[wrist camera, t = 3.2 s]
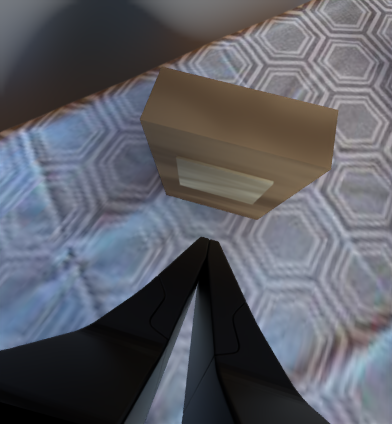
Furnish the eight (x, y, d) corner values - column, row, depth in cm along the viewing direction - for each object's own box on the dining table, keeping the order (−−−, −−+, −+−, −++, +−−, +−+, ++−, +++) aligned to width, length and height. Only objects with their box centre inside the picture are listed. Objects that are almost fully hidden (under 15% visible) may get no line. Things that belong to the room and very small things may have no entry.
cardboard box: (256, 221, 24) (330, 172, 11) (166, 196, 24) (138, 122, 12) (263, 188, 25) (338, 110, 12) (176, 165, 25) (161, 66, 13)
